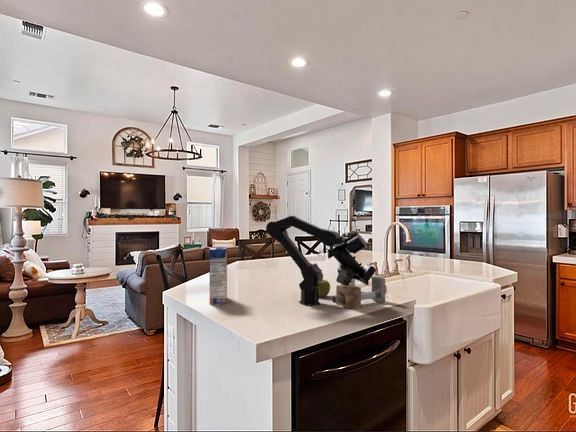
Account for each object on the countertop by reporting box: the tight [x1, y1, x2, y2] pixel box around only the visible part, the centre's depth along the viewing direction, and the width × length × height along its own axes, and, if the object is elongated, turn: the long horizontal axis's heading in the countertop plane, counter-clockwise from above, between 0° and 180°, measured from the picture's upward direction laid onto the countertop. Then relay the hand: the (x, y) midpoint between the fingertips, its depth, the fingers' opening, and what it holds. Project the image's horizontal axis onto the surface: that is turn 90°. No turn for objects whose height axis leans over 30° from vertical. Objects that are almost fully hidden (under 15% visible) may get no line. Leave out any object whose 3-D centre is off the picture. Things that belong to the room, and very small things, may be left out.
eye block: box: [335, 284, 362, 309], centre depth 141 cm, size 6×8×8 cm
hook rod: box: [331, 275, 388, 304], centre depth 143 cm, size 24×6×10 cm, turn 116°
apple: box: [317, 279, 331, 298], centre depth 157 cm, size 8×8×7 cm
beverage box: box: [209, 246, 228, 305], centre depth 150 cm, size 7×11×22 cm, turn 11°
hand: (367, 284), depth 145 cm, fingers closed
